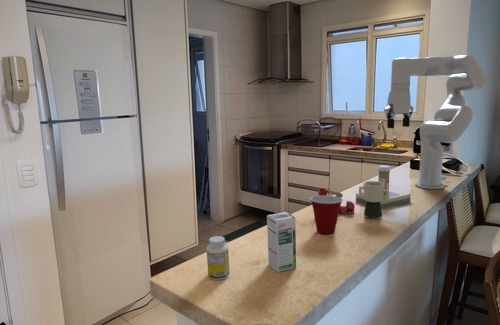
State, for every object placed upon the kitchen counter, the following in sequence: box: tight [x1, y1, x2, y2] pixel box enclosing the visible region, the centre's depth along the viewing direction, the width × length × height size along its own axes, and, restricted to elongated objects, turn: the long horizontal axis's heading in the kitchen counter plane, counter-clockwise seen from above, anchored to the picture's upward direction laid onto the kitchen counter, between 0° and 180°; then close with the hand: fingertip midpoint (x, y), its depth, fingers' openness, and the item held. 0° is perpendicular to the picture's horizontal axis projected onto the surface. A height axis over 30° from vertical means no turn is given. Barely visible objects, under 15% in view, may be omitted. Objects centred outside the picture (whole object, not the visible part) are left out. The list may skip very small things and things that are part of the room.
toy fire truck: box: [318, 187, 355, 215], centre depth 138 cm, size 3×14×10 cm, turn 84°
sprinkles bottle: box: [377, 164, 391, 196], centre depth 149 cm, size 5×5×13 cm
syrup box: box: [266, 211, 297, 273], centre depth 96 cm, size 6×6×14 cm
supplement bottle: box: [206, 235, 230, 281], centre depth 92 cm, size 6×6×10 cm
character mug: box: [358, 180, 390, 219], centre depth 132 cm, size 11×7×13 cm, turn 53°
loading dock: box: [355, 191, 412, 210], centre depth 151 cm, size 18×13×4 cm
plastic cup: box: [309, 195, 344, 236], centre depth 119 cm, size 11×11×12 cm
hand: (398, 127), depth 156 cm, fingers open, 9 cm apart
